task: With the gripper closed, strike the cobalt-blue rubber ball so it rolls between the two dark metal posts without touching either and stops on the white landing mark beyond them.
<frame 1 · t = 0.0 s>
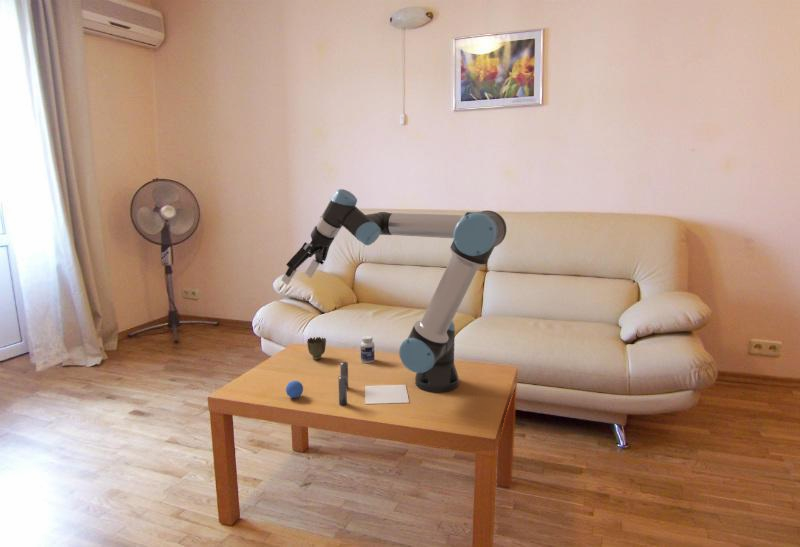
hand: (296, 278, 179), 36 cm above the table, tool tilted 35°, fingers open, 13 cm apart
post 1: (343, 403, 162), on the table
pill bottle: (367, 361, 199), on the table
cup: (317, 359, 202), on the table
landing mark: (386, 394, 169), on the table
post 2: (344, 387, 174), on the table
ball: (294, 389, 166), on the table
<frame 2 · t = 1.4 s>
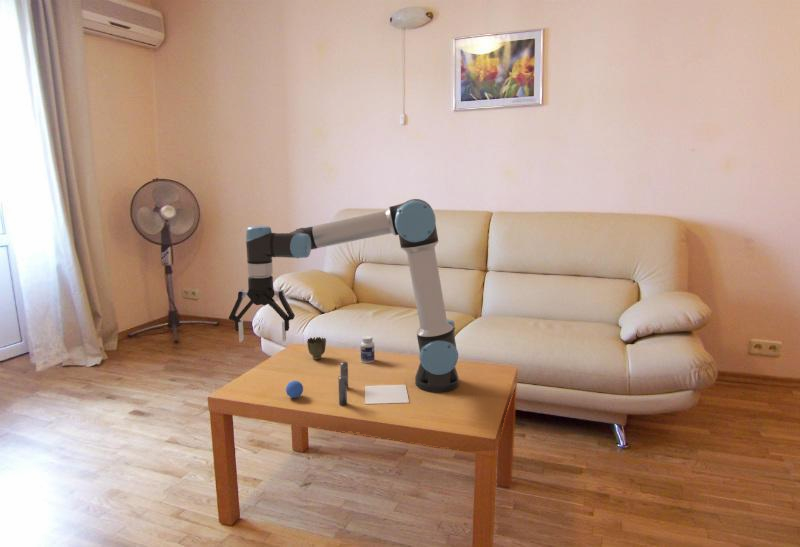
hand: (263, 340, 163), 19 cm above the table, tool pointing down, fingers open, 13 cm apart
nothing on the table moved.
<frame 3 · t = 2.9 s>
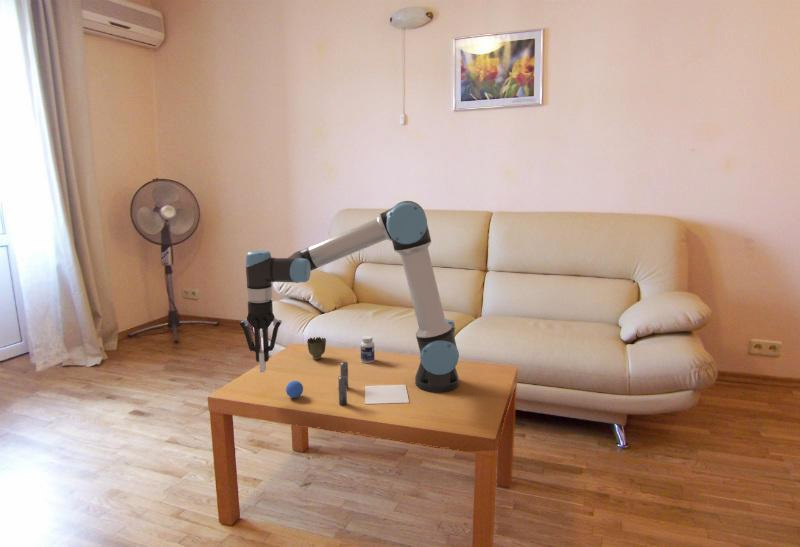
hand: (262, 370, 165), 9 cm above the table, tool pointing down, fingers closed
nothing on the table moved.
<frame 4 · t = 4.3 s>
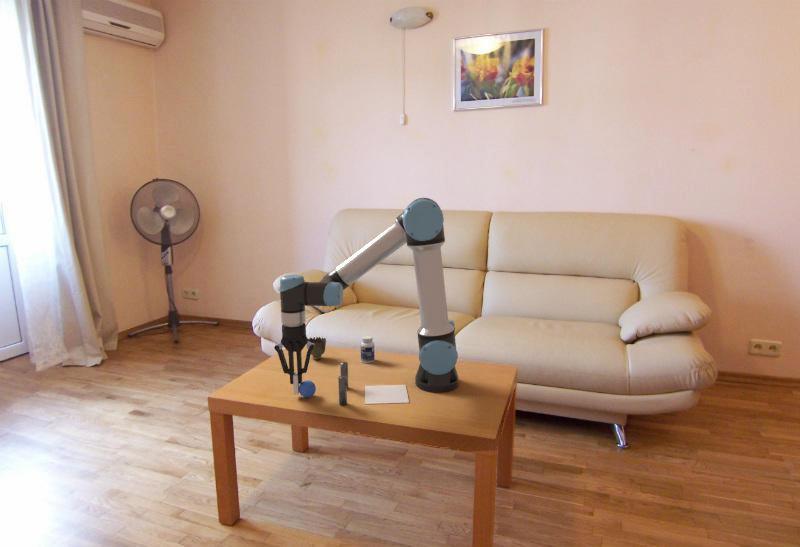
hand: (296, 392, 167), 2 cm above the table, tool pointing down, fingers closed
ball: (307, 388, 167), on the table
everything else where it was.
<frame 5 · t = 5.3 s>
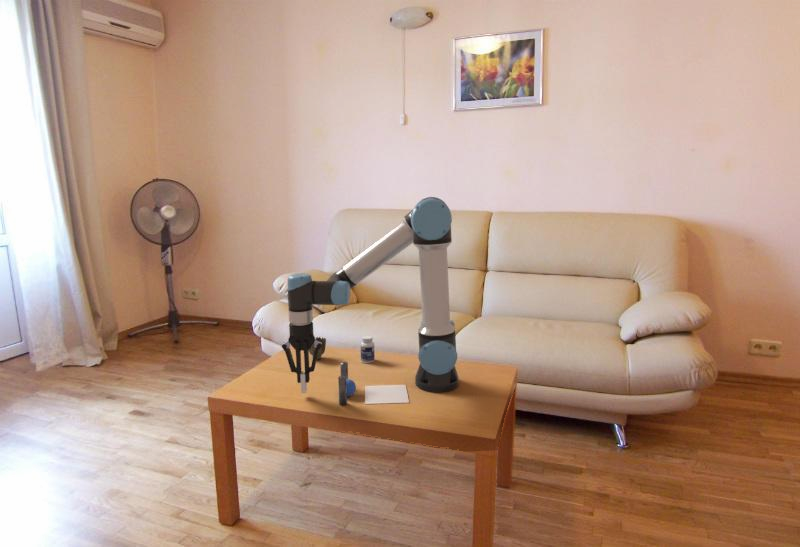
hand: (303, 391, 167), 2 cm above the table, tool pointing down, fingers closed
ball: (347, 387, 168), on the table
everything else where it was.
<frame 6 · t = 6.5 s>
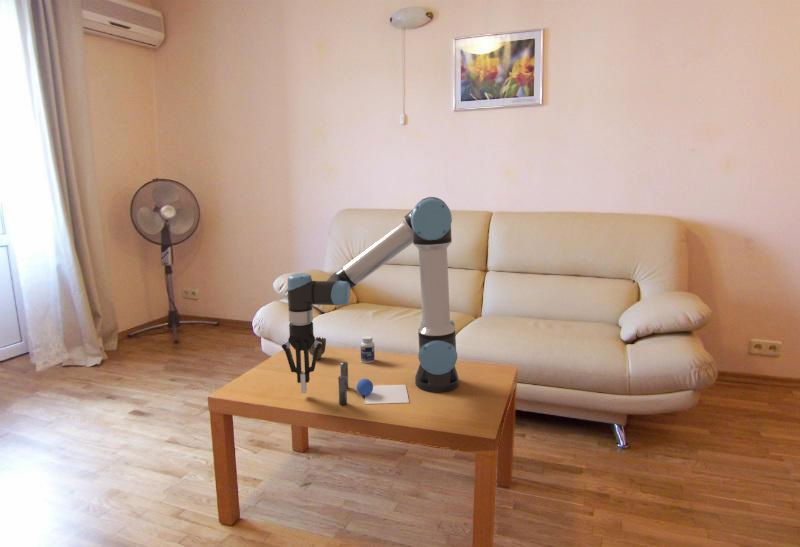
hand: (303, 391, 167), 2 cm above the table, tool pointing down, fingers closed
ball: (364, 387, 168), on the table
everything else where it was.
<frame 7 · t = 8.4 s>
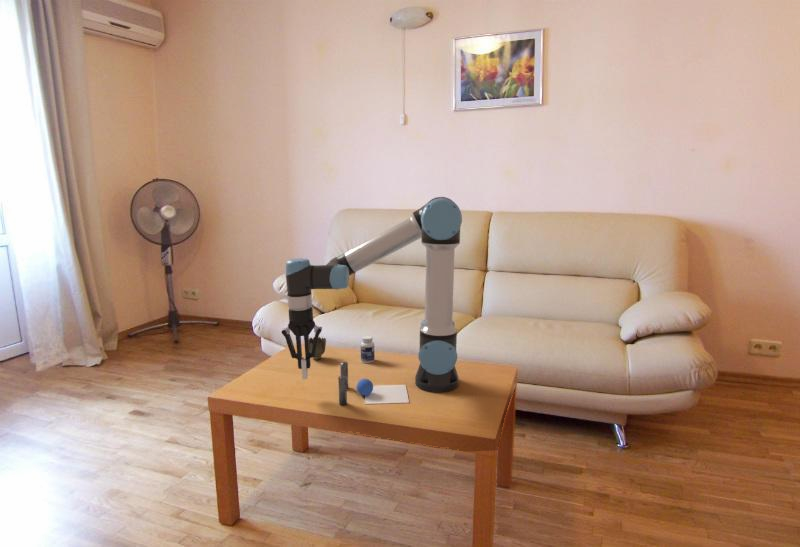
hand: (305, 377, 166), 7 cm above the table, tool pointing down, fingers closed
nothing on the table moved.
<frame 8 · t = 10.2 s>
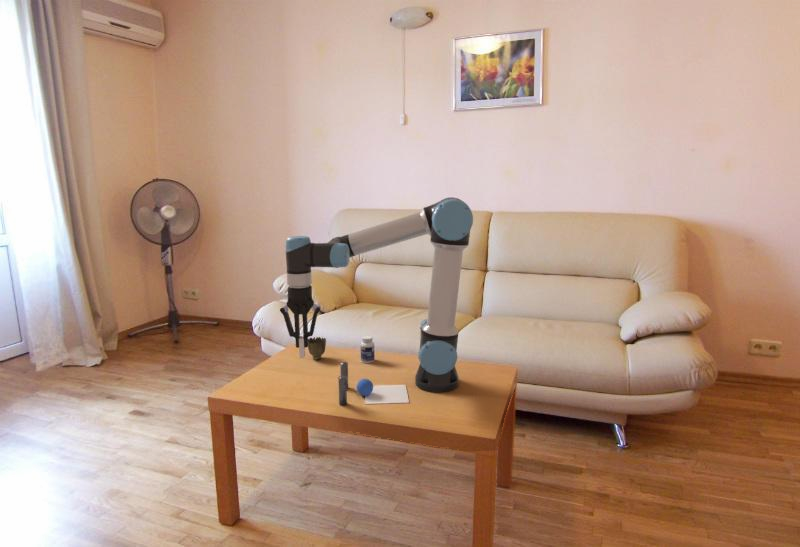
hand: (302, 356, 165), 14 cm above the table, tool pointing down, fingers closed
nothing on the table moved.
at the end: ball 7.0 cm from the landing mark (horizontally); ball never touched post 1; ball never touched post 2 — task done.
